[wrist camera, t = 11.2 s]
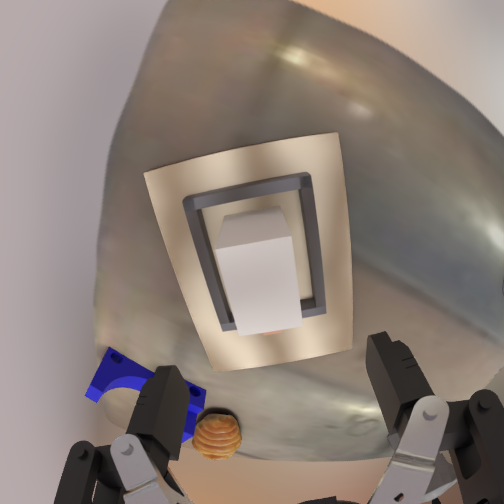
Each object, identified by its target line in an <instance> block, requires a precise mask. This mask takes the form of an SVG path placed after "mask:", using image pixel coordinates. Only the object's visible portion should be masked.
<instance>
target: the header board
mask: <svg viewBox="0 0 504 504" xmlns="http://www.w3.org/2000/svg"><path fill="white" fill-rule="evenodd" d="M144 177H145V180H146V184H147V188H148V191H149V194H150V198H151V201H152V205H153V208H154V211H155V215H156V218H157V221H158V224H159V227H160V230H161V234H162V237H163V240H164V243H165V246H166V249H167V252H168V255H169V257H170V260H171V263H172V266H173V269H174V272H175V275H176V277H177V280H178V283H179V286H180V288H181V291H182V294H183V296H184V299H185V301H186V304H187V307H188V309H189V312H190V314H191V317H192V319H193V322H194V324H195V327H196V329H197V332H198V334H199V337H200V339H201V341H202V344H203V346H204V349H205V351H206V353H207V356H208V358H209V360H210V362H211V365H212V367H213V369H214V371H215V372H221V371H230V370H238V369H246V368H253V367H261V366H267V365H274V364H280V363H286V362H291V361H297V360H302V359H307V358H312V357H317V356H322V355H327V354H331V353H336V352H340V351H344V350H348V349H352V333H353V293H352V262H351V243H350V229H349V216H348V205H347V196H346V186H345V178H344V170H343V162H342V155H341V148H340V142H339V136H338V132H332V133H324V134H316V135H309V136H302V137H295V138H289V139H283V140H277V141H271V142H266V143H260V144H255V145H250V146H245V147H240V148H235V149H231V150H226V151H222V152H218V153H213V154H209V155H205V156H201V157H197V158H193V159H189V160H185V161H182V162H178V163H174V164H171V165H167V166H164V167H160V168H157V169H153V170H150V171H147V172H145V173H144ZM274 206H280V207H281V210H282V212H283V215H284V218H285V220H286V223H287V226H288V228H289V231H290V234H291V237H292V244H293V251H294V258H295V265H296V273H297V280H298V288H299V296H300V304H301V313H302V322H303V326H301V327H295V328H290V329H284V330H281V333H277V334H270V335H263V333H259V334H252V335H245V336H239V334H238V331H237V327H236V324H235V320H234V317H233V313H232V310H231V306H230V303H229V299H228V296H227V292H226V288H225V285H224V281H223V277H222V274H221V270H220V266H219V263H218V259H217V255H216V251H215V248H216V244H217V241H218V237H219V233H220V230H221V226H222V223H223V219H224V216H225V215H230V214H236V213H241V212H246V211H252V210H257V209H263V208H268V207H274Z"/></svg>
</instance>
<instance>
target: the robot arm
mask: <svg viewBox="0 0 504 504" xmlns="http://www.w3.org/2000/svg"><path fill="white" fill-rule="evenodd" d="M503 295H504V281H503ZM366 368H367V373H368V376H369V378H370V381H371V384H372V386H373V389H374V392H375V395H376V397H377V400H378V403H379V406H380V408H381V411H382V414H383V417H384V420H385V423H386V426H387V429H388V432H389V435H393V434H396V433H398V436H399V439H400V441H399V443H398V445H397V447H396V450H395V452H394V454H393V456H392V459H391V460H390V462H389V465H388V467H387V469H386V471H385V473H384V475H383V476H382V479H381V480H380V482H379V484H378V486H377V487H376V489H375V491H374V493H373V494H372V496H371V498H370V500H369V501H368V503H367V504H420V503H421V501H422V499H423V497H424V494H425V492H426V490H427V487H428V485H429V483H430V480H431V478H432V475H433V473H434V469H435V464H434V462H435V458H436V455H437V452H438V451H444V450H449V453H450V456H451V460H452V463H453V466H454V470H455V473H456V477H457V480H458V484H459V487H460V491H461V495H462V499H463V503H464V504H504V408H503V406H502V404H501V402H500V400H499V398H498V396H497V395H496V394H495V393H494V392H492V391H491V390H486V389H483V390H479V391H477V392H475V393H474V394H473V395H472V396H471V398H470V400H463V401H456V402H447V401H445V400H444V399H442V398H441V397H438V396H436V395H435V394H434V393H433V391H432V389H431V387H430V386H429V384H428V382H427V380H426V378H425V376H424V374H423V372H422V371H421V369H420V367H419V366H418V363H417V361H416V360H415V358H414V356H413V354H412V353H411V351H410V349H409V347H408V346H406V345H405V344H404V343H402V342H401V341H400V340H398V341H394V342H392V341H391V339H390V337H389V335H388V334H387V332H385V331H384V332H381V333H377V334H373V335H369V336H368V338H367V351H366ZM189 402H190V391H189V388H188V386H187V384H186V382H185V380H184V379H183V377H182V375H181V373H180V371H179V370H178V368H177V366H175V365H170V366H158V367H157V369H156V372H155V375H154V378H149V379H148V380H147V381H146V382H145V384H144V385H143V386H142V388H141V391H140V394H139V398H138V400H137V402H136V405H135V408H134V411H133V414H132V417H131V420H130V423H129V426H128V429H127V432H126V434H124V435H121V436H119V437H117V438H116V439H115V440H114V441H113V443H112V444H111V445H106V446H99V447H94V446H93V445H92V444H91V443H90V442H88V441H79V442H77V443H75V444H74V445H73V446H72V448H71V449H70V452H69V455H68V458H67V461H66V464H65V467H64V471H63V473H62V476H61V480H60V483H59V486H58V490H57V493H56V497H55V500H54V504H125V503H126V504H194V503H193V502H192V501H191V500H190V499H189V497H188V496H187V494H186V493H185V492H184V490H183V489H182V487H181V486H180V484H179V483H178V481H177V479H176V478H175V476H174V475H173V473H172V472H171V470H170V468H169V467H168V462H169V460H176V461H178V459H179V453H180V448H181V443H182V437H183V432H184V427H185V422H186V417H187V412H188V407H189ZM96 481H97V485H96V489H95V494H94V498H93V503H92V495H93V491H94V487H95V483H96ZM299 504H359V503H356V502H351V501H337V500H336V496H333V497H328V498H323V499H317V500H310V501H305V502H302V503H299Z"/></svg>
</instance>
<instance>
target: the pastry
mask: <svg viewBox="0 0 504 504" xmlns="http://www.w3.org/2000/svg"><path fill="white" fill-rule="evenodd" d="M241 440H242V437H241V433H240V430H239V426H238V423H237V420H236V419H235V418H234V417H233V416H231V415H222V414H208V415H207V416H205V417H204V418H203V419H202V420H201V421H199V422H198V423H197V425H196V427H195V432H194V436H193V440H192V444H193V446H194V448H195V449H196V450H198V452H199V453H200V455H202V456H203V457H205V458H207V459H211V460H219V459H227V458H228V457H230V456H232V455H233V453H234V452H235V451H236V450H237V449H238V448H239V447H240V444H241Z"/></svg>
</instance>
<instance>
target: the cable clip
mask: <svg viewBox="0 0 504 504" xmlns="http://www.w3.org/2000/svg"><path fill="white" fill-rule="evenodd" d="M154 375H155V373H153V372H152V371H150V370H148V369H146V368H144V367H143V366H141V365H139V364H137V363H136V362H134V361H132V360H130V359H129V358H127V357H125V356H124V355H122V354H120V353H119V352H117V351H115V350H114V349H112V348H111V347H109V348H108V350H107V352H106V354H105V356H104V358H103V360H102V362H101V364H100V366H99V367H98V369H97V371H96V373H95V376H94V378H93V380H92V382H91V384H90V386H89V388H88V390H87V392H86V394H85V396H86V397H88V398H89V399H91V400H93V401H94V402H96V403H97V402H98V400H99V399H100V397H101V396H102V395H103V394H104V393H105V392H107V391H108V390H111V389H114V388H119V387H126V388H132V389H135V390H138V391H141V388H142V386H143V385H144V384H145V382H146V381H147V380H148V379H149V378H154ZM185 382H186V384H187V386H188V388H189V391H190V402H189V407H188V412H187V417H186V422H185V427H184V432H183V437H182V443H183V442H184V441H186V440H188V439H189V438H191V437H193V436H194V432H195V425H196V418H197V414H198V413H200V412H201V411H202V410H204V403H205V396H206V390H205V389H203V388H200V387H198V386H196V385H194V384H192V383H190V382H188V381H186V380H185Z"/></svg>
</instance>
